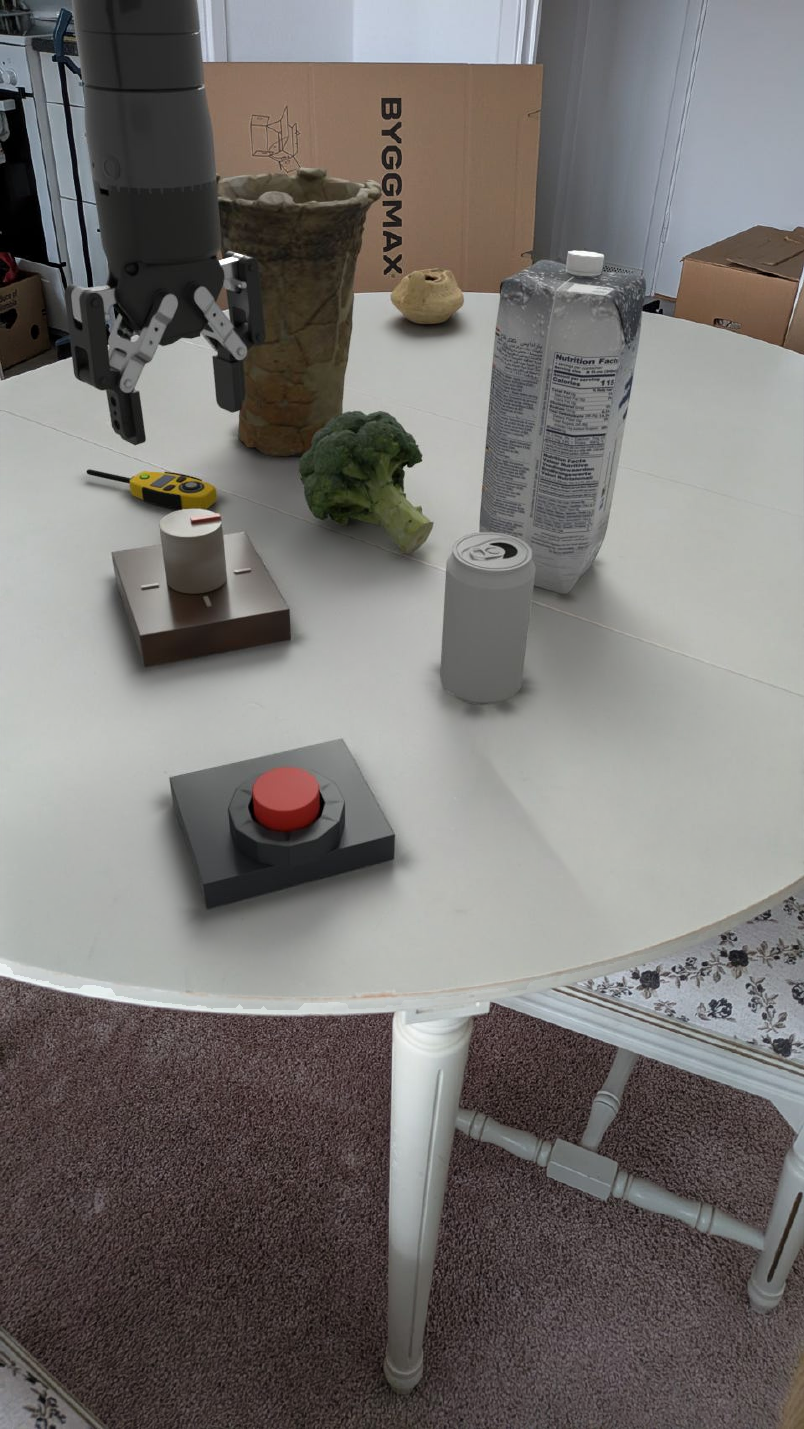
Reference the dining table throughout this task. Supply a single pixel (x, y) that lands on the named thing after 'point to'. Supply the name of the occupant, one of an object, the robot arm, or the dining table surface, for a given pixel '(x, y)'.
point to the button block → (262, 860)
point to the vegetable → (364, 475)
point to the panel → (200, 605)
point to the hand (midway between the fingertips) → (182, 424)
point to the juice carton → (559, 409)
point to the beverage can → (486, 617)
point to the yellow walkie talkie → (167, 489)
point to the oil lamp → (428, 296)
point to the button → (286, 799)
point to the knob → (193, 550)
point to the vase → (296, 297)
